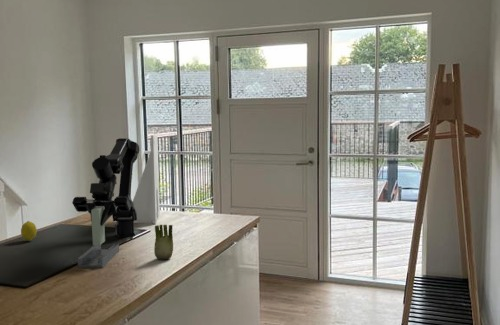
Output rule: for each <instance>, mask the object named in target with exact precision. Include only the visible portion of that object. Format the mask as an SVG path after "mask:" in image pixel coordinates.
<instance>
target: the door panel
mask: <svg viewBox="0 0 500 325" xmlns="http://www.w3.org/2000/svg"><path fill="white" fill-rule="evenodd" d="M103 212H104V207H95V208H94V209H92V210H91V215H92V222H91V231H92V232H91V233H92V235H91V236H92V246H94V245H101V246H102V244H103V243H105V242H106V235H105V234H106V233H105V229H106V228H105V223H104V224H103V225H102V226H101V225H100V223H101V218H102V215H103ZM91 215H90V216H91Z"/></svg>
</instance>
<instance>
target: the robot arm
mask: <svg viewBox="0 0 500 325" xmlns="http://www.w3.org/2000/svg"><path fill="white" fill-rule="evenodd" d="M139 154H140V145H139V143H137V142H135V141H133V140H131V139H130V138H127V137H125V138H119V137H118V138H117V139H116V140H115V145H114V146H113V148H112V149H111V152H110V154H108V155H105V154H104V155H102V154H100V155H99V157H98V158H96V159H94V160H93V161H92V162H91V167H92V168H93V170H94V171H93V172H94V175H96V177H97V179H99V180H98V182H92V183H90V189H89V193H90V194H92V195H91V197H92V198H89V199H87V197H86V196H75V197H74V198H73V199H72V201H71V203H72V205H73V207H74V209H75V211H76V212H79V213H82V212H83V213H85V212H88V213H89V214H90V215H89V216H90V220H91V223H92V215H91V210H92V209H94V208H95V207H104V212H103V215H102V218H101V223H100V225H101V226H102V225H103V224H104V225H105V223H106V222H107V221H108V220H109V219H110V218H112V221H113V222H116V223H115V229H114V230H115V235H116V236H117V237H118V238H124V237H131V236H133V237H134V236H136V233H135V226H134V225H135V223H134V221H135V220H137V213H136V210H135V208H134V204H133V199H132V198H131V195H132V194H131V193H132V183H133V182H132V179H133V169H134V163H135V162H136V161H137V160H138V155H139ZM119 174H120V177H119V178H120V179H119V187H118V188H119V190H118V196H116V197H115V196H114V195H115V193H114V192H115V187H116V185H117V178H118V177H117V175H119ZM113 197H115V198H114V199H113ZM131 216H132V217H131Z"/></svg>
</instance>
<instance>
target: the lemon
mask: <svg viewBox="0 0 500 325" xmlns="http://www.w3.org/2000/svg"><path fill="white" fill-rule="evenodd" d="M20 235H21V237H22V239H24V240H26V241H28V242H30V241H32V240H33V239H34V238H35V237H36V236H37V226H36V224H35V223H34V222H32V221H29V220H28V221H26V222H24V223H23V224H22V225H21V229H20Z"/></svg>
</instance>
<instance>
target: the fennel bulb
mask: <svg viewBox="0 0 500 325" xmlns="http://www.w3.org/2000/svg"><path fill="white" fill-rule="evenodd" d="M154 232H155V241H154V247H153V248H154V256H155V258H156V259H158V260H168V259H171V258H172V255H173V252H174V239H173V238H174V236H173V224H156V225H154Z"/></svg>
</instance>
